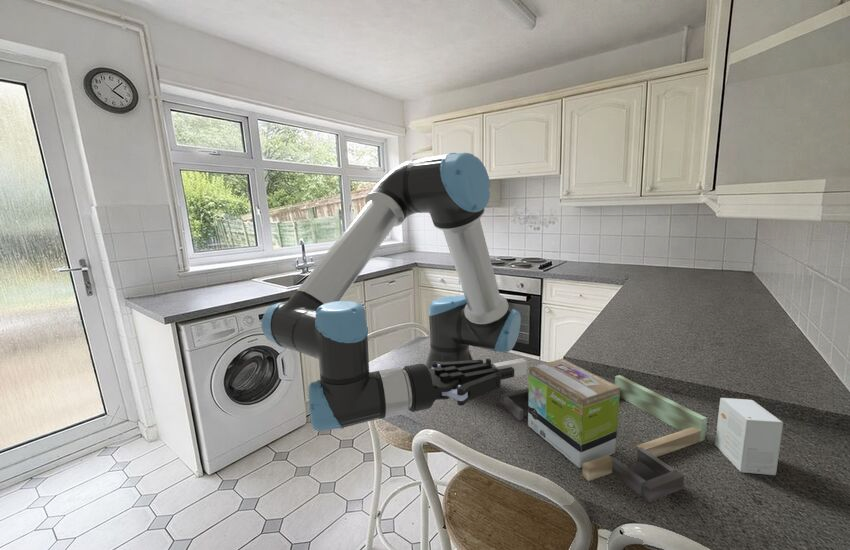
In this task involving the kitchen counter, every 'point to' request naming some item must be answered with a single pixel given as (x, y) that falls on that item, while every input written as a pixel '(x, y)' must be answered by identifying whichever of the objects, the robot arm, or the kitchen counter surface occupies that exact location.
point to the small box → (748, 436)
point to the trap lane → (649, 472)
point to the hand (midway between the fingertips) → (524, 366)
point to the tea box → (573, 410)
